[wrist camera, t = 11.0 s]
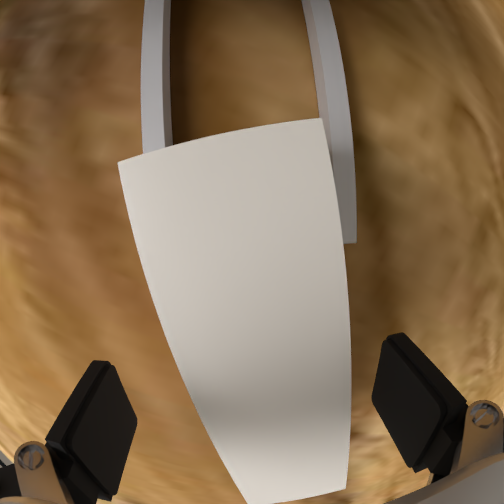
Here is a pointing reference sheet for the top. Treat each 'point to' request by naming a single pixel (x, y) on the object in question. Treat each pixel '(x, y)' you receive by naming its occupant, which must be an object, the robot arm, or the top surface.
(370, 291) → the top surface
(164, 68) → the overhang shelf
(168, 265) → the cream rectangular prism
